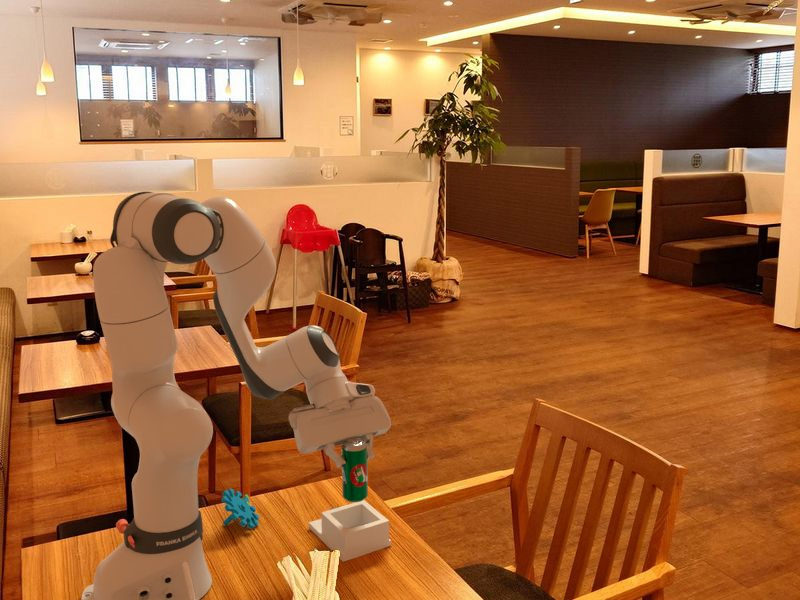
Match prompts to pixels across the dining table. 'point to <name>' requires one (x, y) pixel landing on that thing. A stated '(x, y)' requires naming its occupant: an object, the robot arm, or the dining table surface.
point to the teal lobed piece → (239, 509)
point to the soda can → (354, 470)
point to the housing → (353, 530)
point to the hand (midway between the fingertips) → (356, 462)
